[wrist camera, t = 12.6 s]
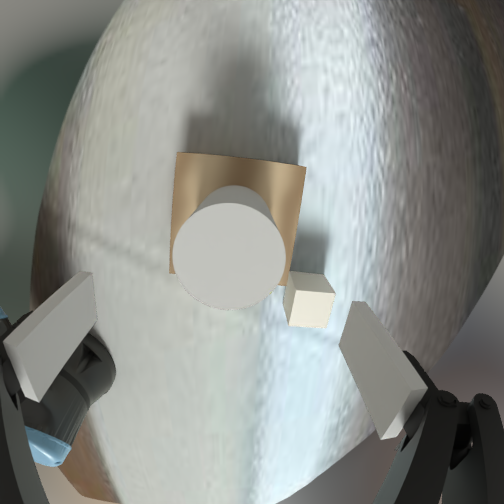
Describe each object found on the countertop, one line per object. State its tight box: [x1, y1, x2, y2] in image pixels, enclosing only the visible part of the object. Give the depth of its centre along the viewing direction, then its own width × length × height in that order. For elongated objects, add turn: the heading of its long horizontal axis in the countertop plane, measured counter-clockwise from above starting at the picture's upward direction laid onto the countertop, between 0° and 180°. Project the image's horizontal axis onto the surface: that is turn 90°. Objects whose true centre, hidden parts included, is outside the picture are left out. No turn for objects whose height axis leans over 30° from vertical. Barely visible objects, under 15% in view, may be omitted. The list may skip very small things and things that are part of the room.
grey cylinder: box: [172, 185, 286, 310], centre depth 27 cm, size 8×8×12 cm
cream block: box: [283, 271, 336, 328], centre depth 38 cm, size 5×5×6 cm
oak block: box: [169, 152, 306, 286], centre depth 35 cm, size 14×14×5 cm
